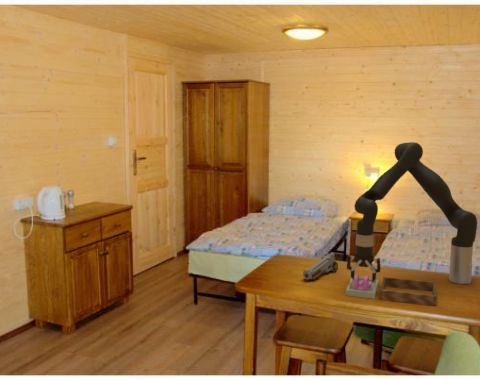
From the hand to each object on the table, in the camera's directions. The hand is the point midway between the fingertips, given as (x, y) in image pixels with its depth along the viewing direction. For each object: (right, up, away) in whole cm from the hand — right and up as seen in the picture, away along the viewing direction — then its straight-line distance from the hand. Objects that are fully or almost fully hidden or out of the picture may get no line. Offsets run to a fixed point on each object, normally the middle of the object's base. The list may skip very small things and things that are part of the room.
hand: (363, 279), depth 226 cm
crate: (+18, -6, -6) cm, 20 cm away
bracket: (0, -4, +1) cm, 4 cm away
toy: (-15, -2, +21) cm, 26 cm away
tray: (0, -5, +1) cm, 5 cm away
